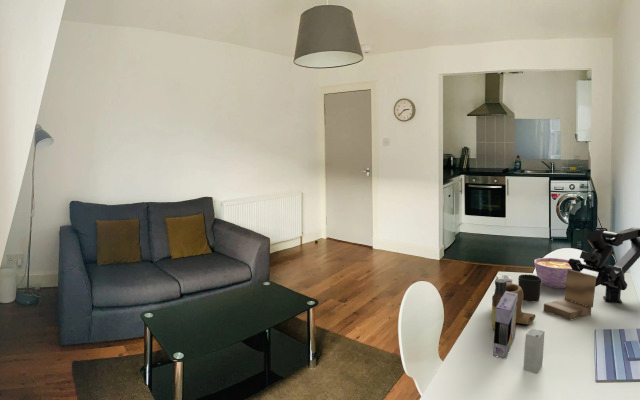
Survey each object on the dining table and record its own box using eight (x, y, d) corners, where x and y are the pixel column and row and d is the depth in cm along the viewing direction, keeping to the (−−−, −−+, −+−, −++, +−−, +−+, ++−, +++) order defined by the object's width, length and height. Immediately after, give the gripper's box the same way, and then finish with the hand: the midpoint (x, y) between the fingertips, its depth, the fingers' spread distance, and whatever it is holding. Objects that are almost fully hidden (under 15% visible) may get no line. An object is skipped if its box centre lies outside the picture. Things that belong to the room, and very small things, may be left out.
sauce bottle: (509, 329, 172) (510, 279, 169) (510, 335, 166) (512, 284, 163) (490, 327, 174) (492, 277, 171) (491, 333, 168) (493, 282, 166)
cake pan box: (507, 361, 147) (509, 309, 145) (491, 357, 150) (492, 306, 147) (516, 339, 163) (518, 292, 161) (501, 336, 166) (503, 290, 164)
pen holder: (544, 299, 203) (545, 278, 202) (533, 303, 198) (534, 281, 197) (524, 293, 211) (525, 273, 210) (513, 298, 206) (514, 276, 204)
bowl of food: (527, 279, 233) (528, 257, 232) (568, 280, 230) (569, 258, 229) (541, 291, 214) (542, 268, 212) (585, 292, 211) (587, 269, 209)
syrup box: (512, 312, 188) (513, 279, 186) (497, 311, 189) (498, 278, 187) (509, 307, 194) (510, 275, 192) (494, 307, 195) (495, 274, 193)
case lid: (564, 298, 195) (566, 298, 196) (591, 307, 184) (593, 307, 185) (567, 269, 194) (570, 269, 195) (594, 276, 183) (597, 276, 184)
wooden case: (564, 305, 195) (564, 298, 195) (590, 314, 185) (591, 307, 184) (543, 310, 190) (543, 303, 190) (569, 320, 179) (570, 313, 179)
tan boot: (489, 322, 178) (490, 286, 176) (496, 313, 188) (497, 278, 186) (531, 330, 170) (532, 292, 168) (535, 320, 180) (537, 284, 178)
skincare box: (528, 362, 146) (529, 327, 144) (543, 366, 143) (545, 330, 141) (522, 370, 141) (524, 333, 140) (538, 374, 138) (539, 337, 137)
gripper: (571, 240, 198) (553, 267, 195) (614, 248, 181) (595, 278, 178) (582, 255, 202) (564, 282, 199) (625, 265, 186) (606, 295, 182)
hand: (581, 284), depth 190 cm, fingers open, 9 cm apart
